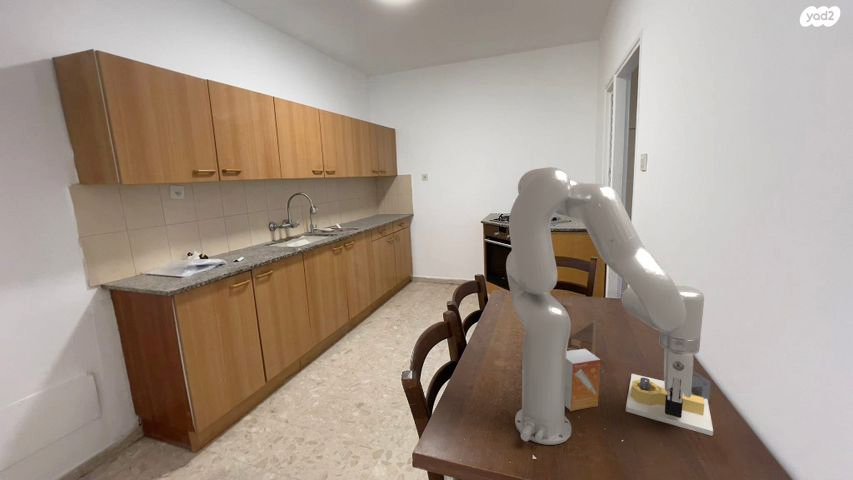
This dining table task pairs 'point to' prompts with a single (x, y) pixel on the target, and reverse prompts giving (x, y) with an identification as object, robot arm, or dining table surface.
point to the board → (658, 413)
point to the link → (659, 397)
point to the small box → (581, 379)
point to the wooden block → (581, 333)
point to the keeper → (700, 386)
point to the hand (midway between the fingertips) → (672, 414)
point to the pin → (644, 384)
